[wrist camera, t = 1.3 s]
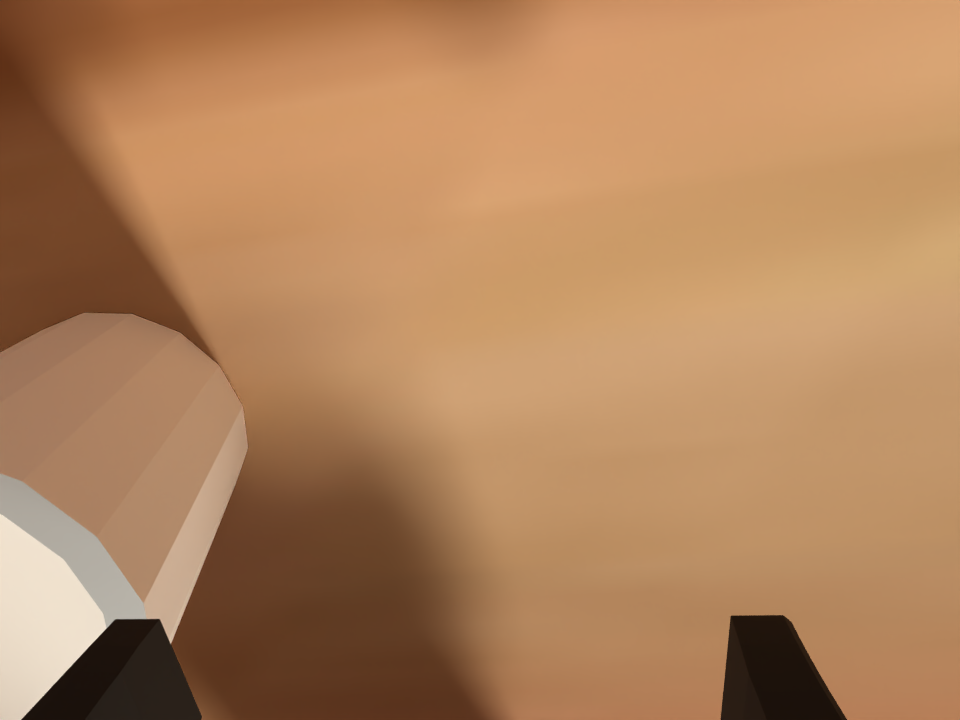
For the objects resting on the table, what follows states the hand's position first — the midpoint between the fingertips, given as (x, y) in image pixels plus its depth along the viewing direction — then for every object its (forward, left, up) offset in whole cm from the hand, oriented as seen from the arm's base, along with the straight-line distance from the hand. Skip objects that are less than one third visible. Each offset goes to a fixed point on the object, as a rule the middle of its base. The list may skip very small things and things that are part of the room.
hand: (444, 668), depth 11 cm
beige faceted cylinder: (-1, +8, -9) cm, 12 cm away
